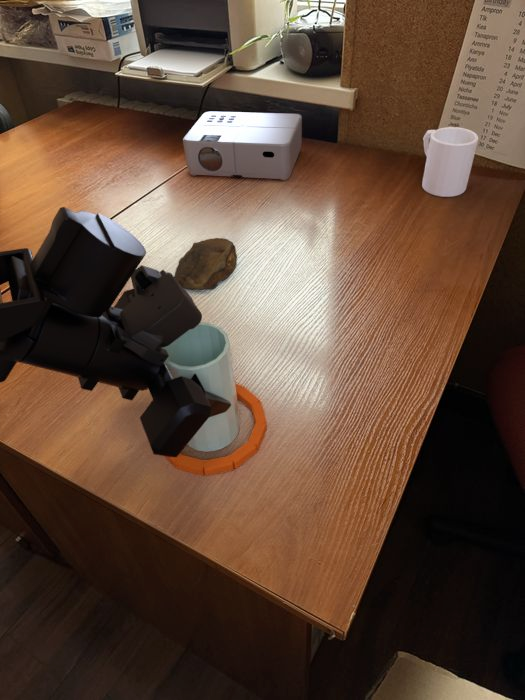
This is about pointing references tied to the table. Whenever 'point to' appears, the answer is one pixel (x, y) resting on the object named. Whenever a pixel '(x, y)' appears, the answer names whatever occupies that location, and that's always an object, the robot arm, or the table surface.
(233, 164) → the projector
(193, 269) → the decorative stone
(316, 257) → the table surface
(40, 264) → the robot arm
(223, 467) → the ring
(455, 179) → the mug
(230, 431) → the cup
